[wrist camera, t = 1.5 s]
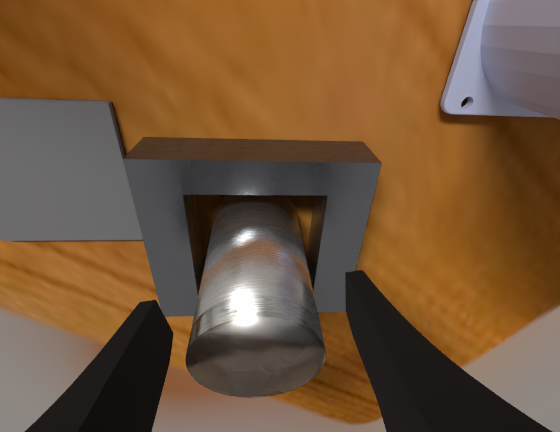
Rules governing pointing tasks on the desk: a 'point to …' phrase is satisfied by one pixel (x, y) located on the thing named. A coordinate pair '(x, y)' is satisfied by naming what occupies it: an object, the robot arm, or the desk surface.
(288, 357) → the metal cylinder
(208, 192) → the housing
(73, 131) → the mat
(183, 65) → the desk surface
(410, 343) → the robot arm
